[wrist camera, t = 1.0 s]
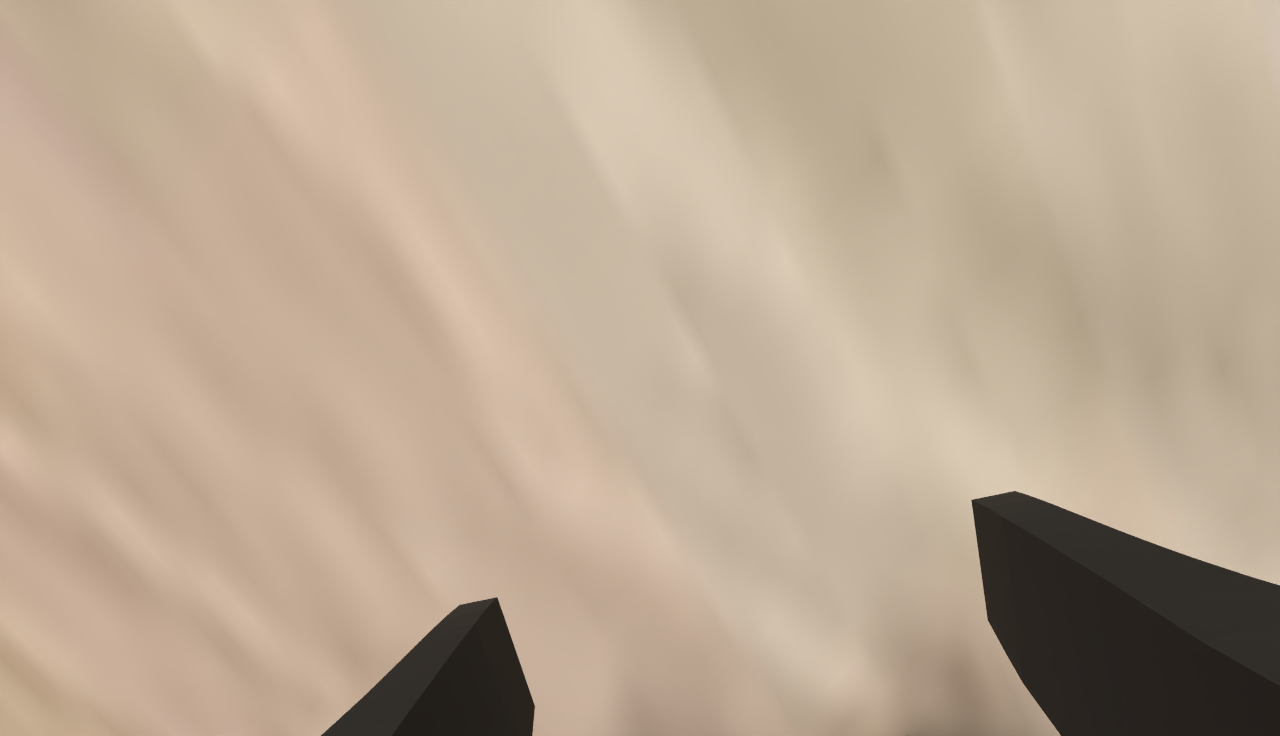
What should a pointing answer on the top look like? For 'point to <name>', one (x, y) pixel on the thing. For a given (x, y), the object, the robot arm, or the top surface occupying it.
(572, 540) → the top surface
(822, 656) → the top surface
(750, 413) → the top surface
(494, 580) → the top surface
